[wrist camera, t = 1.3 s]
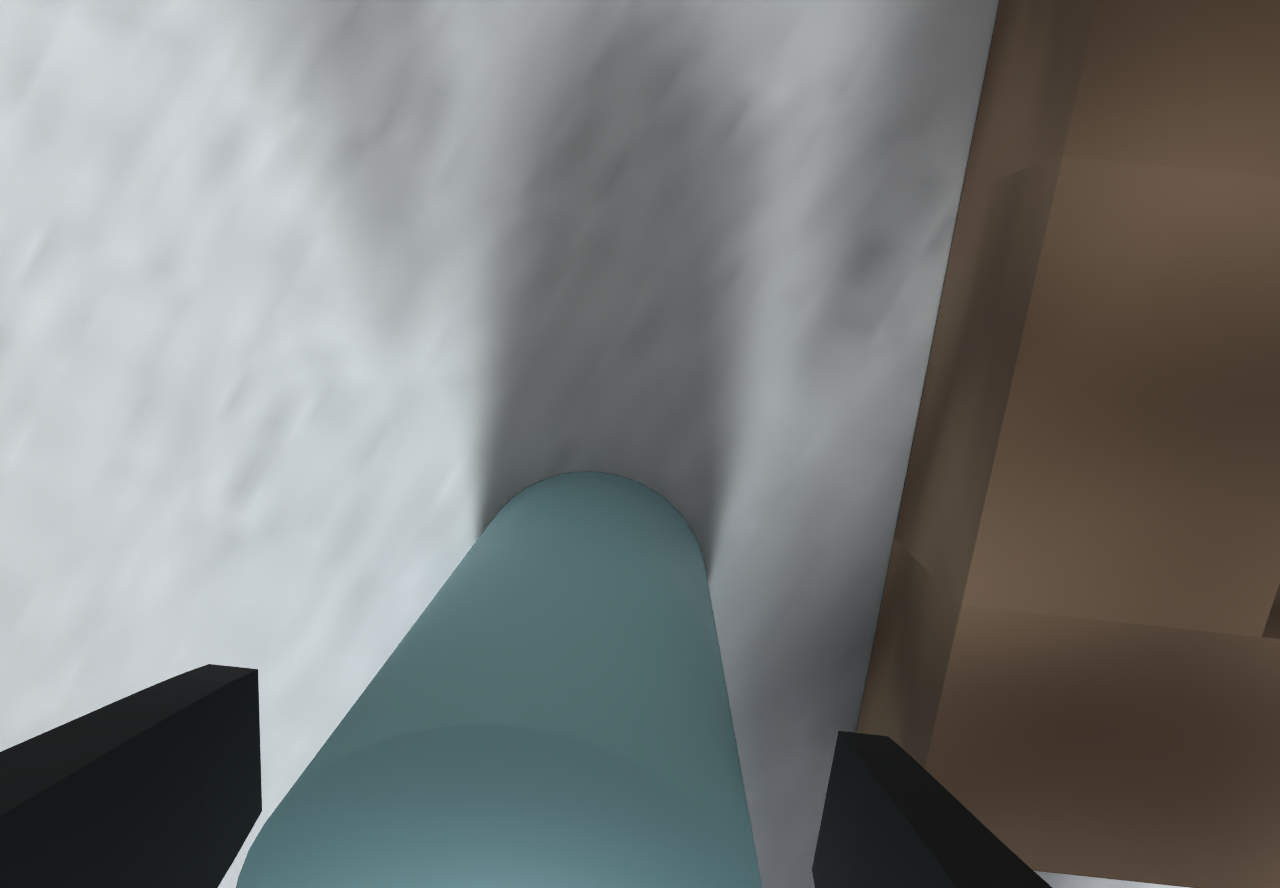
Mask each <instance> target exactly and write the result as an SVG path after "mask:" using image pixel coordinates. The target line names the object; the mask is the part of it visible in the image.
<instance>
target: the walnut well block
mask: <svg viewBox="0 0 1280 888" xmlns="http://www.w3.org/2000/svg"><path fill="white" fill-rule="evenodd" d="M856 733H863V734H872V735H882V736H888V737H890V738H891V739H892V740H893V741H894V742H896V743H897V744H898V745H899V746H900V747H901V748H902V749H904V750H905V751H906V752H907V753H908V754H909V755H910V756H911V757H912V758H913V759H915V760H916V761H917V762H918V763H919V764H920V765H921V766H922V767H923V768H924V769H925V770H926V771H927V772H928V773H930V774H931V775H932V776H933V777H934V778H935V779H936V780H937V781H938V782H939V783H940V784H941V785H942V786H943V787H944V788H945V789H946V790H947V791H949V792H950V793H951V794H952V795H953V796H954V797H955V798H956V799H957V800H958V801H959V802H960V803H961V804H962V805H963V806H964V807H965V808H966V809H968V810H969V811H970V812H971V813H972V814H973V815H974V816H975V817H976V818H977V819H978V820H979V821H980V822H981V823H982V824H983V825H984V826H986V827H987V828H988V829H989V830H990V831H991V832H992V833H993V834H994V835H995V836H996V837H997V838H998V839H999V840H1000V841H1002V842H1003V843H1004V844H1005V845H1006V846H1007V847H1008V848H1009V849H1010V850H1011V851H1012V852H1013V853H1015V854H1016V855H1017V856H1018V857H1019V858H1020V859H1021V860H1022V861H1023V862H1024V863H1025V864H1026V865H1028V866H1029V867H1030V868H1031V869H1032V870H1033V871H1042V872H1052V873H1061V874H1070V875H1079V876H1089V877H1098V878H1107V879H1117V880H1126V881H1135V882H1144V883H1154V884H1163V885H1172V886H1181V887H1191V888H1280V0H1000V2H999V7H998V12H997V17H996V22H995V27H994V32H993V37H992V42H991V47H990V53H989V58H988V63H987V68H986V73H985V78H984V83H983V88H982V93H981V98H980V103H979V109H978V114H977V119H976V124H975V129H974V134H973V139H972V144H971V149H970V154H969V159H968V165H967V170H966V175H965V180H964V185H963V190H962V195H961V200H960V205H959V210H958V215H957V221H956V226H955V231H954V236H953V241H952V246H951V251H950V256H949V261H948V266H947V271H946V276H945V282H944V287H943V292H942V297H941V302H940V307H939V312H938V317H937V322H936V327H935V332H934V338H933V343H932V348H931V353H930V358H929V363H928V368H927V373H926V378H925V383H924V388H923V394H922V399H921V404H920V409H919V414H918V419H917V424H916V429H915V434H914V439H913V444H912V450H911V455H910V460H909V465H908V470H907V475H906V480H905V485H904V490H903V495H902V500H901V506H900V511H899V516H898V521H897V526H896V531H895V536H894V541H893V546H892V551H891V556H890V561H889V567H888V572H887V577H886V582H885V587H884V592H883V597H882V602H881V607H880V612H879V617H878V623H877V628H876V633H875V638H874V643H873V648H872V653H871V658H870V663H869V668H868V673H867V679H866V684H865V689H864V694H863V699H862V704H861V709H860V714H859V719H858V724H857V729H856Z"/></svg>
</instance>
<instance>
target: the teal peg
mask: <svg viewBox="0 0 1280 888" xmlns="http://www.w3.org/2000/svg"><path fill="white" fill-rule="evenodd" d="M236 888H762V885H761V880H760V874H759V868H758V863H757V857H756V851H755V846H754V840H753V835H752V829H751V823H750V818H749V812H748V806H747V801H746V795H745V789H744V784H743V778H742V773H741V767H740V761H739V756H738V750H737V744H736V739H735V733H734V727H733V722H732V716H731V711H730V705H729V699H728V694H727V688H726V682H725V677H724V671H723V666H722V660H721V654H720V649H719V643H718V637H717V632H716V626H715V620H714V615H713V609H712V604H711V598H710V592H709V587H708V581H707V575H706V570H705V565H704V560H703V556H702V552H701V550H700V547H699V544H698V541H697V539H696V537H695V535H694V534H693V532H692V530H691V528H690V526H689V525H688V524H687V522H686V521H685V519H684V518H683V517H682V515H681V514H680V513H679V512H678V511H677V510H676V509H675V508H674V507H673V506H672V505H671V504H670V503H669V502H668V501H667V500H665V499H664V498H663V497H662V496H660V495H659V494H658V493H656V492H654V491H653V490H651V489H650V488H648V487H646V486H644V485H642V484H640V483H638V482H635V481H633V480H631V479H628V478H624V477H621V476H618V475H613V474H608V473H602V472H574V473H567V474H562V475H557V476H553V477H550V478H548V479H545V480H542V481H539V482H537V483H535V484H534V485H532V486H530V487H528V488H526V489H524V490H523V491H522V492H520V493H519V494H517V495H516V496H514V497H513V498H512V499H511V500H510V501H509V502H508V503H507V504H506V505H504V506H503V507H502V509H501V510H500V511H499V512H498V514H497V515H496V516H495V517H494V518H493V520H492V521H491V522H490V524H489V525H488V526H487V528H486V529H485V530H484V532H483V533H482V534H481V536H480V537H479V538H478V540H477V541H476V542H475V544H474V545H473V546H472V548H471V549H470V550H469V552H468V553H467V554H466V556H465V557H464V558H463V560H462V561H461V562H460V564H459V565H458V567H457V568H456V569H455V571H454V572H453V573H452V575H451V576H450V577H449V579H448V580H447V581H446V583H445V584H444V585H443V587H442V588H441V589H440V591H439V592H438V593H437V595H436V596H435V597H434V599H433V600H432V601H431V603H430V604H429V605H428V607H427V608H426V609H425V611H424V612H423V613H422V615H421V616H420V617H419V619H418V620H417V621H416V623H415V624H414V625H413V627H412V628H411V629H410V631H409V632H408V633H407V635H406V636H405V637H404V639H403V640H402V641H401V643H400V644H399V645H398V647H397V648H396V649H395V651H394V652H393V653H392V655H391V656H390V657H389V659H388V660H387V661H386V663H385V664H384V665H383V667H382V668H381V669H380V671H379V672H378V673H377V675H376V676H375V677H374V679H373V680H372V681H371V683H370V684H369V685H368V687H367V688H366V689H365V691H364V692H363V693H362V695H361V696H360V697H359V699H358V700H357V701H356V703H355V704H354V705H353V707H352V708H351V709H350V711H349V712H348V713H347V715H346V716H345V717H344V719H343V720H342V721H341V723H340V724H339V725H338V727H337V728H336V729H335V731H334V732H333V733H332V735H331V736H330V737H329V739H328V740H327V741H326V743H325V744H324V745H323V747H322V748H321V749H320V751H319V752H318V753H317V755H316V756H315V757H314V759H313V760H312V761H311V763H310V764H309V765H308V767H307V768H306V769H305V771H304V772H303V773H302V775H301V776H300V777H299V779H298V780H297V781H296V783H295V784H294V785H293V787H292V788H291V789H290V791H289V792H288V793H287V795H286V796H285V797H284V799H283V800H282V801H281V803H280V804H279V805H278V807H277V808H276V809H275V811H274V812H273V813H272V815H271V816H270V817H269V819H268V820H267V821H266V823H265V824H264V826H263V827H262V829H261V831H260V832H259V834H258V836H257V837H256V839H255V841H254V843H253V844H252V846H251V848H250V849H249V851H248V854H247V857H246V859H245V862H244V864H243V867H242V869H241V872H240V875H239V877H238V881H237V886H236Z"/></svg>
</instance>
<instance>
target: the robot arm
mask: <svg viewBox="0 0 1280 888" xmlns="http://www.w3.org/2000/svg"><path fill="white" fill-rule="evenodd" d="M261 812H262V797H261V762H260V727H259V692H258V669H249V668H240V667H230V666H221V665H211V664H208V665H206V666H203V667H200V668H197V669H194V670H191V671H188V672H186V673H183V674H181V675H178V676H175V677H173V678H171V679H168V680H166V681H163V682H161V683H158V684H156V685H154V686H151V687H149V688H146V689H144V690H142V691H139V692H137V693H135V694H132V695H130V696H128V697H125V698H123V699H121V700H118V701H116V702H114V703H112V704H109V705H107V706H105V707H102V708H100V709H98V710H96V711H93V712H91V713H89V714H87V715H84V716H82V717H80V718H77V719H75V720H73V721H70V722H68V723H66V724H64V725H61V726H59V727H57V728H54V729H52V730H50V731H48V732H45V733H43V734H41V735H38V736H36V737H34V738H32V739H29V740H27V741H25V742H22V743H20V744H18V745H15V746H13V747H11V748H9V749H6V750H4V751H2V752H0V888H217V887H218V886H219V884H220V882H221V881H222V879H223V877H224V876H225V874H226V872H227V871H228V869H229V868H230V866H231V864H232V863H233V861H234V859H235V858H236V856H237V854H238V852H239V850H240V849H241V847H242V845H243V843H244V842H245V840H246V838H247V836H248V835H249V833H250V831H251V829H252V827H253V826H254V824H255V822H256V820H257V819H258V817H259V815H260V813H261ZM812 872H813V878H814V884H815V888H1052V887H1051V886H1050V885H1048V884H1047V883H1046V882H1045V881H1044V880H1043V879H1042V878H1041V877H1040V876H1039V875H1037V874H1036V873H1035V872H1034V871H1033V870H1032V869H1031V868H1030V867H1029V866H1028V865H1026V864H1025V863H1024V862H1023V861H1022V860H1021V859H1020V858H1019V857H1018V856H1017V855H1016V854H1015V853H1013V852H1012V851H1011V850H1010V849H1009V848H1008V847H1007V846H1006V845H1005V844H1004V843H1003V842H1002V841H1000V840H999V839H998V838H997V837H996V836H995V835H994V834H993V833H992V832H991V831H990V830H989V829H988V828H987V827H986V826H984V825H983V824H982V823H981V822H980V821H979V820H978V819H977V818H976V817H975V816H974V815H973V814H972V813H971V812H970V811H969V810H968V809H966V808H965V807H964V806H963V805H962V804H961V803H960V802H959V801H958V800H957V799H956V798H955V797H954V796H953V795H952V794H951V793H950V792H949V791H947V790H946V789H945V788H944V787H943V786H942V785H941V784H940V783H939V782H938V781H937V780H936V779H935V778H934V777H933V776H932V775H931V774H930V773H928V772H927V771H926V770H925V769H924V768H923V767H922V766H921V765H920V764H919V763H918V762H917V761H916V760H915V759H913V758H912V757H911V756H910V755H909V754H908V753H907V752H906V751H905V750H904V749H902V748H901V747H900V746H899V745H898V744H897V743H896V742H894V741H893V740H892V739H891V738H890V737H888V736H882V735H872V734H863V733H853V732H844V731H839V732H838V737H837V742H836V747H835V753H834V758H833V763H832V768H831V773H830V779H829V784H828V789H827V794H826V800H825V805H824V810H823V815H822V820H821V826H820V831H819V836H818V841H817V846H816V852H815V857H814V862H813V867H812Z"/></svg>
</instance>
